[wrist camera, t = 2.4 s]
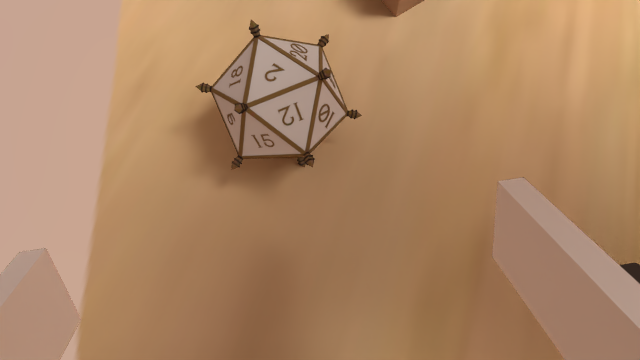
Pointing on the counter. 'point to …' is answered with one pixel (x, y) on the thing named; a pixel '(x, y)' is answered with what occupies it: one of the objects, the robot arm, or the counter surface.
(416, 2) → the walnut block
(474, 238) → the counter surface
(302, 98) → the game die
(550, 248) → the robot arm
